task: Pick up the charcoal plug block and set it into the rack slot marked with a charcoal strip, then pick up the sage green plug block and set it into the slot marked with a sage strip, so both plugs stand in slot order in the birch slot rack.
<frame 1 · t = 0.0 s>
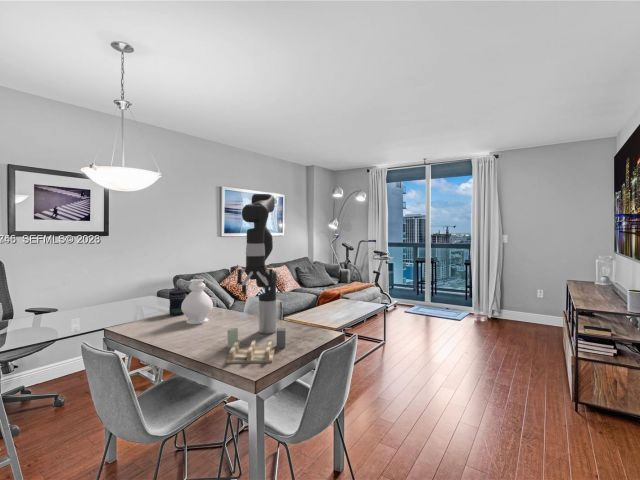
hand: (255, 294, 137), 29 cm above the table, tool pointing down, fingers open, 8 cm apart
decorative vase: (197, 321, 202), on the table
charcoal plug: (281, 346, 160), on the table
slot rack: (251, 356, 148), on the table
storage jar: (177, 314, 218), on the table
sage plug: (232, 345, 160), on the table
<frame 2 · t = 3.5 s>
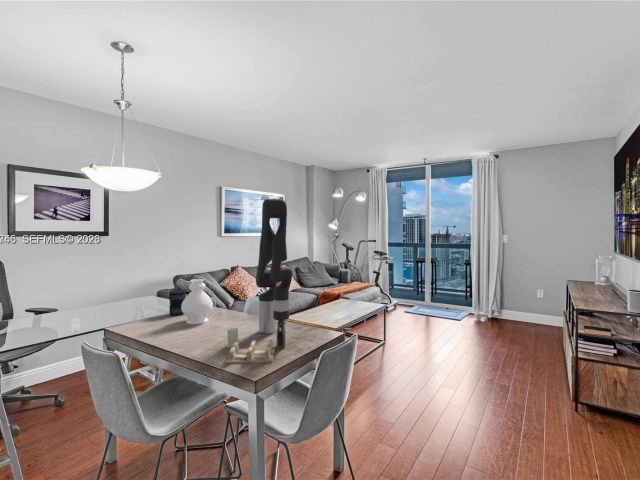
hand: (281, 344, 160), 1 cm above the table, tool pointing down, fingers closed on charcoal plug, 4 cm apart
charcoal plug: (281, 346, 160), on the table, touching gripper
everything else where it was.
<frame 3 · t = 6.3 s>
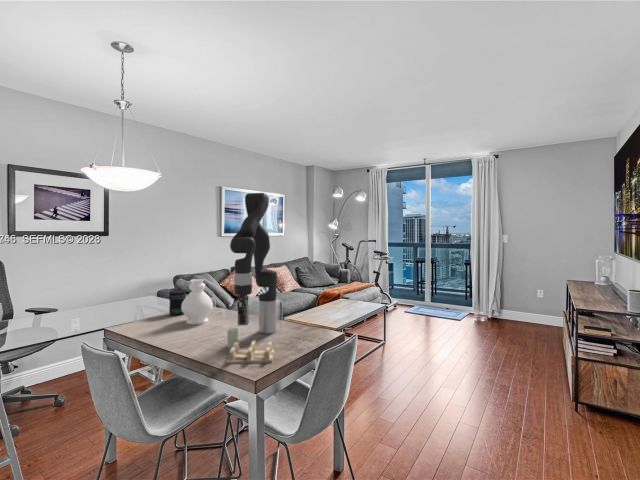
hand: (243, 321, 147), 15 cm above the table, tool pointing down, fingers closed on charcoal plug, 4 cm apart
charcoal plug: (243, 324, 147), point 14 cm above the table, touching gripper
everything else where it was.
when the fingers open (3 cm above the table, at t = 8.9 s): charcoal plug stays where it is, resting on slot rack.
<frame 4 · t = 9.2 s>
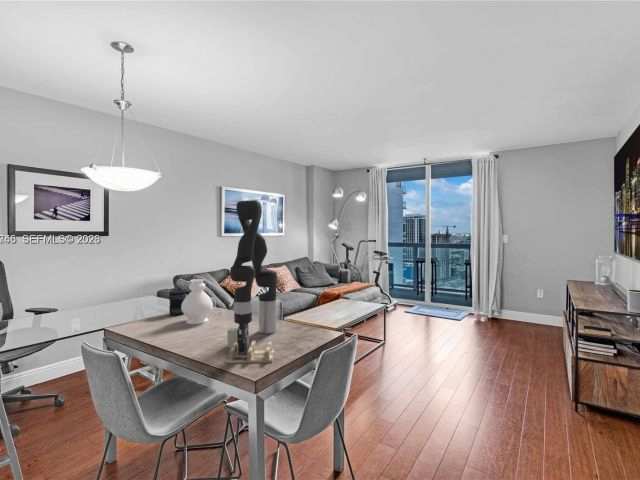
hand: (243, 348, 147), 3 cm above the table, tool pointing down, fingers open, 6 cm apart
charcoal plug: (243, 353, 148), point 1 cm above the table, touching slot rack
everything else where it was.
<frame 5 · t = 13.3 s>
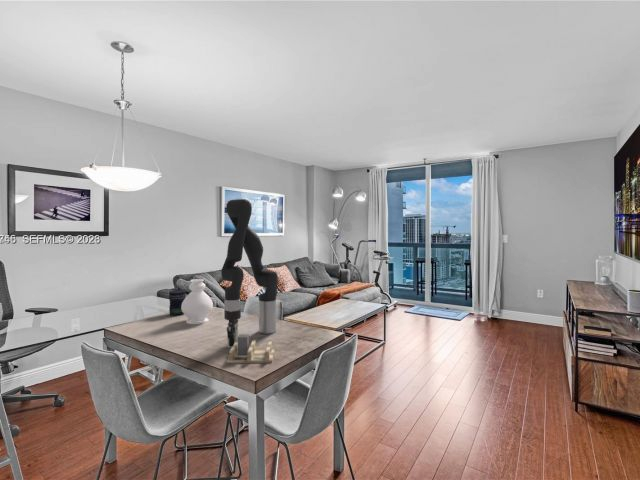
hand: (232, 344, 160), 1 cm above the table, tool pointing down, fingers closed on sage plug, 4 cm apart
sage plug: (232, 345, 160), on the table, touching gripper
everything else where it was.
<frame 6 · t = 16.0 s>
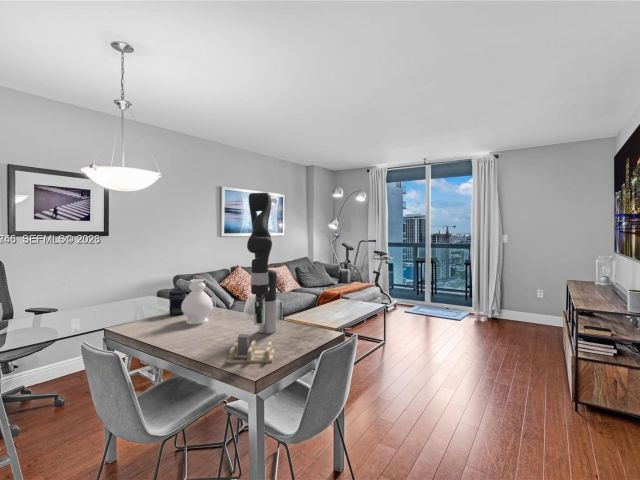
hand: (259, 321, 147), 15 cm above the table, tool pointing down, fingers closed on sage plug, 4 cm apart
sage plug: (259, 323, 147), point 14 cm above the table, touching gripper
everything else where it was.
when the fingers open (3 cm above the table, at t = 18.7 s): sage plug stays where it is, resting on slot rack.
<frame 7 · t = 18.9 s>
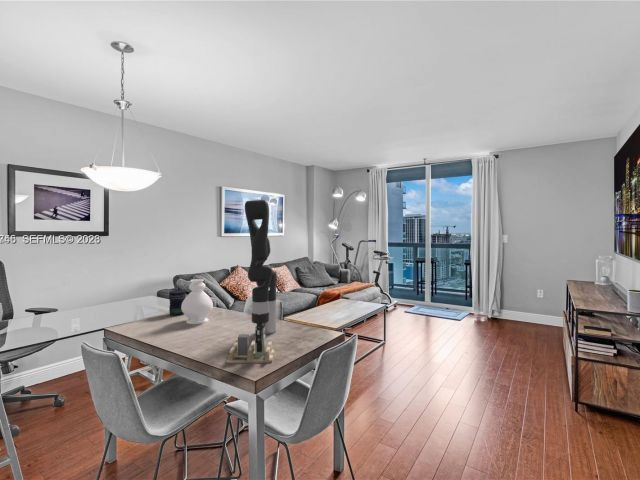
hand: (260, 348, 148), 3 cm above the table, tool pointing down, fingers open, 6 cm apart
sage plug: (260, 353, 148), point 1 cm above the table, touching slot rack
everything else where it was.
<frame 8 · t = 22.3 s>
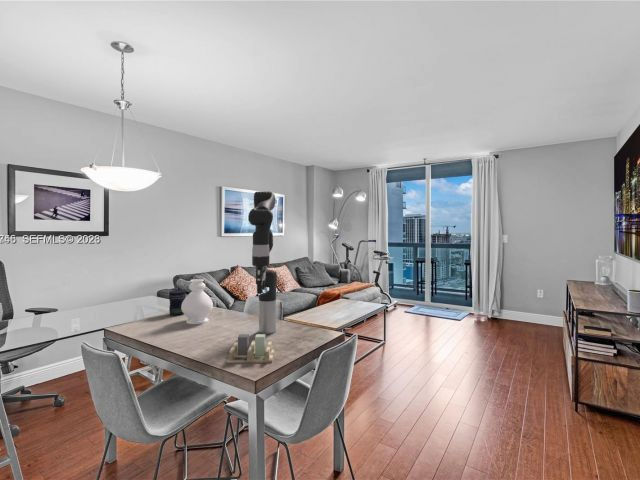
hand: (260, 291, 149), 28 cm above the table, tool pointing down, fingers open, 8 cm apart
nothing on the table moved.
at the end: charcoal plug inside the target area on the slot rack (0.3 cm from its centre), point 1.0 cm above the slot rack's base; sage plug inside the target area on the slot rack (0.3 cm from its centre), point 1.0 cm above the slot rack's base; sage plug tilted 0° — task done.
